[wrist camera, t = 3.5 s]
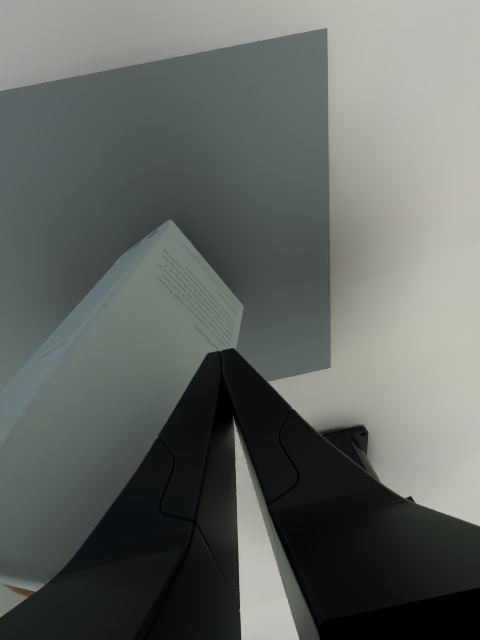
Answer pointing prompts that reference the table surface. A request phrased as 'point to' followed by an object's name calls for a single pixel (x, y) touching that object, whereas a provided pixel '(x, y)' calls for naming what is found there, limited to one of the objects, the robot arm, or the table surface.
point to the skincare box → (102, 398)
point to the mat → (174, 191)
